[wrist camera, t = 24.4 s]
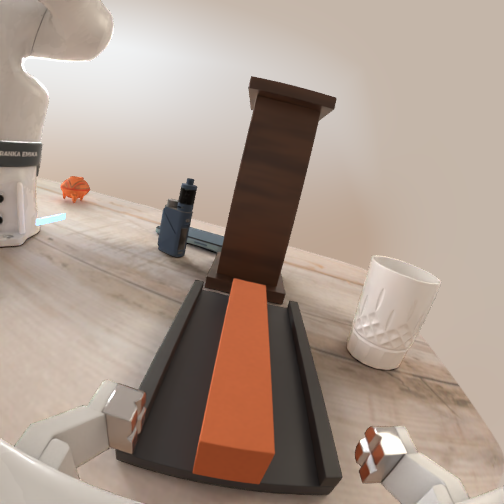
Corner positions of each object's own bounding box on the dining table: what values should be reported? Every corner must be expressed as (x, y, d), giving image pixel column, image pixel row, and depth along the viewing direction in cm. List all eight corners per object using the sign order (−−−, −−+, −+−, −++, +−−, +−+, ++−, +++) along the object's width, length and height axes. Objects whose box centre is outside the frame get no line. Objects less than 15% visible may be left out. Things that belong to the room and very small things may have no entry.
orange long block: (259, 484, 13) (275, 454, 12) (192, 473, 13) (198, 441, 12) (259, 310, 34) (266, 285, 33) (227, 303, 34) (233, 277, 33)
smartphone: (176, 222, 64) (241, 240, 60) (175, 230, 65) (239, 249, 60) (153, 226, 57) (223, 246, 53) (152, 234, 58) (222, 256, 53)
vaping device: (176, 258, 47) (190, 179, 44) (154, 247, 49) (166, 173, 46) (187, 256, 49) (202, 181, 46) (165, 246, 51) (178, 174, 48)
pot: (53, 199, 63) (58, 172, 63) (64, 202, 71) (69, 177, 71) (81, 203, 65) (86, 174, 65) (91, 206, 72) (95, 180, 72)
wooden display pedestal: (282, 307, 39) (336, 97, 32) (203, 290, 38) (251, 76, 32) (276, 272, 52) (315, 116, 45) (217, 258, 52) (253, 101, 45)
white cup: (326, 342, 32) (357, 254, 29) (366, 331, 37) (393, 255, 34) (383, 382, 26) (426, 286, 23) (415, 361, 31) (450, 281, 28)
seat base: (328, 495, 13) (343, 477, 13) (115, 459, 13) (113, 439, 12) (293, 317, 37) (297, 302, 36) (192, 295, 36) (195, 279, 36)
